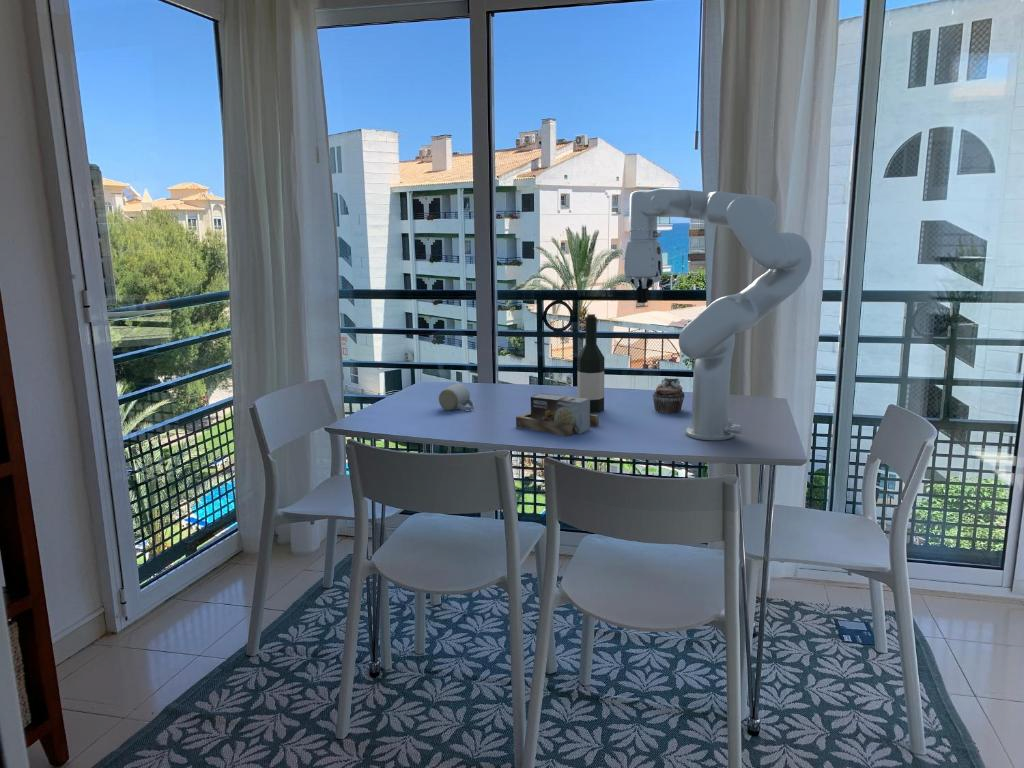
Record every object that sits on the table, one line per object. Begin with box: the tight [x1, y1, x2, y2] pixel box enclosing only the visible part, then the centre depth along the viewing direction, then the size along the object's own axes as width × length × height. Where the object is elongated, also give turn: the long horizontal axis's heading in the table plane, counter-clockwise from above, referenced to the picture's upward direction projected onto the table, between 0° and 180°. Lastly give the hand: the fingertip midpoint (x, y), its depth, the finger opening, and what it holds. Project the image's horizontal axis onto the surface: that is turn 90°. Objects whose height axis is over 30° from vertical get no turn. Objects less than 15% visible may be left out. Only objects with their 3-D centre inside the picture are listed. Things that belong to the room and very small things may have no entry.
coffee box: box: [530, 392, 591, 435], centre depth 211 cm, size 9×6×16 cm
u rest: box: [515, 411, 600, 437], centre depth 214 cm, size 18×15×3 cm
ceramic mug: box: [438, 382, 475, 411], centre depth 236 cm, size 11×8×8 cm
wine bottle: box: [576, 313, 605, 414], centre depth 230 cm, size 8×8×30 cm
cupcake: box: [652, 377, 685, 414], centre depth 229 cm, size 10×10×10 cm
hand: (642, 302), depth 210 cm, fingers closed
